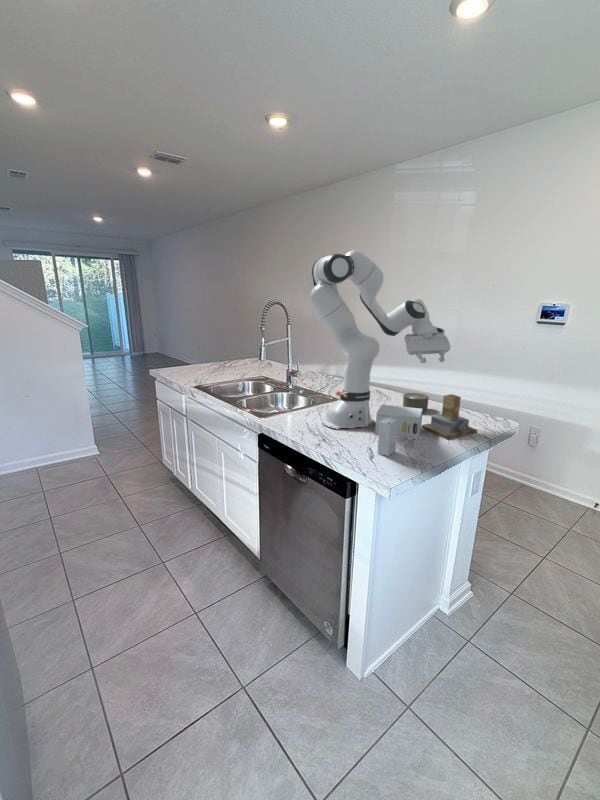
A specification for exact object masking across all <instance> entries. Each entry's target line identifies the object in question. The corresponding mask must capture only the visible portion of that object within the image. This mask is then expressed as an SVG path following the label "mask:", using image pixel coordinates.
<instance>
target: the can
mask: <svg viewBox="0 0 600 800" xmlns="http://www.w3.org/2000/svg"><path fill="white" fill-rule="evenodd" d="M402 397H403V403H402V407H411V408H422V409H423V413H426V412H427V411H428V406H429V398H430V396H429V395H427V394H425V393H419V392H417V393H416V392H408V393H404V394H403V395H402Z"/></svg>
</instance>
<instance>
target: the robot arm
mask: <svg viewBox="0 0 600 800" xmlns="http://www.w3.org/2000/svg"><path fill="white" fill-rule="evenodd" d="M311 277H312V281H313V286H314V287H313V288H312V290H311V292H310V295H309V296H310V300H311V302H312V304H313V306H314V308H315V310H316V311H317V313H318V315H319V316H320V318H321V319H322V320H323V322H324V324H325V325H326V326H327V327H328V329H329V331H330V332H331V333H332V335H333V337H334V340H335V341H336V343H337V344H338V348H339V349H340V351H341V352H342V353H343V355H345V356H346V357H348V361H347V366H346V369H345V370H344V374H343V389H342V391H339V390H336V392H335V395H336V396H338V397H339V399H337V400H336V401H335V402H334V403H333V404H332V405H330V406H329V407H328V408H327V410H326V411H327V412H326V414H325V415H326V416H325V417H322V418H321V419H322V420H325V421H323V422H324V423H325V424H327V425H329V426H331V427H335V428H349V429H352V428H351V427H361V428H368V427H369V426H370V424H371V423H373V422H372V417H371V412H370V399H371V390H370V383H371V382H370V379H371V371H372V367H373V363H374V361H375V358H377V356H378V354H379V353H380V344H379V342H378V340H377V339H376V338H375V337H374V336H372V335H370V334H369V333H363V332H362V331H361V330H360V329H359V327H358V326H357V323H356V321H355V315H354V314H353V312H352V311H351V309H350V308H349V306H348V305H347V303H346V302H345V301H344V299H343V297H341V295H340V294H339V291H338V284H339V283H343V282H344V281H346V280H347V279H348V280H350V281H351V282H352V283H353V284H354V285H355V286H356V287H357V289H358V290H359V292H360V293H359V299H360V301H361V303H362V304H363V305H364V307H365V308H366V310H367V311H368V312H369V313H370V315H371V316H372V318H374V320H375V321H376V322H377V324H378V325H379V327H380V329H381V331H382V332H383V333H384V334H385V335H387V336H392V337H394V336H397V335H398V334H400V333H401V332H402V331H403V330H405V329H406V328H408V327H410V326H411V332H412V333H411V334H410V333H408V334H407V333H406V335H404V341H405V348H406V351H407V354H408V355H410V356H413V355H414V356H415V355H416V358H418V359H419V361H420V363H421V364H426V363H427V359H426V357H424V356H423V355H432V354H433V355H434V354H436V355H437V354H438V355H439V356H440V357H439V358H438V361H439V363H444V362H445V361H446V359H445V354H447V353H448V352H449V351H451V343H450V341H449V338H448V336H447V335H446V334H445V333H446V331H445V329H444V328H441V327H438V326H435V325H433V322H432V321H431V320H430V314H429V311H428V309H427V307H426V305H425V303H424V301H423V300H422V299H419V298H413V299H410V300H409V299H408V300H406V301H404V302H403V303H400V305H398V306H397V307H396V308H394V309H393V310H391V311H390V312H386V311H384V309H383V308H382V307H381V305H380V304H379V303H378V301H377V300H376V297H377V296H378V294H379V292H380V291H381V289H382V287H383V284H384V273H383V271H382V269H381V268H380V267H379V266H378V265H377V264H376V263H375V262H374V261H373V260H372V259H370V258H369V257H368V256H367V255H366V254H364V253H363V252H361V251H359V250H357V249H352V250H349V251H347V253H345V254H342V253H333V254H329V255H328V254H327V255H324V256H323V257H321V258H318V259H317V260H316V261H315V262H314V263H313V265H312V268H311Z"/></svg>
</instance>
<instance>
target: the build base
mask: <svg viewBox="0 0 600 800" xmlns="http://www.w3.org/2000/svg"><path fill="white" fill-rule="evenodd" d="M430 418H431V421H430V423H426V424H421V430H424V431H427V432H429V433H431V434H434V435H435V436H439V437H441V438H442V439H446V440H451V439H454V437H456V438H459V437H458V436H461V437H464V436H463V435H466V436H470V435H469V434H471V435H475V434H474V433H476V434H478V429H477V428H473V427H470V426H469V422H470V420H469V419H467V418H466V417H465V418H464V417H462V416H459V417H458V419H452V420H449V419H446V418H444V417H442V414H437V415H432V416H431V417H430ZM450 438H451V439H450Z"/></svg>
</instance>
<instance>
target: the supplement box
mask: <svg viewBox="0 0 600 800" xmlns="http://www.w3.org/2000/svg"><path fill="white" fill-rule="evenodd" d="M422 412H423V409H422V408H411V407H403V406H398V405H390V404H383V403H382V404H381V405H380V407H379V409H378V410H377V411H376V417H375V431H374V433H378V434H377V435H379V424H380V421H382V420H384V419H386V418H392V419H397V420H398V426H397V436H398V437H399V438H406V439H413V440H419V437H420V433H421V431H422V422H423V421H422V420H423V413H424V412H423V413H422Z"/></svg>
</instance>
